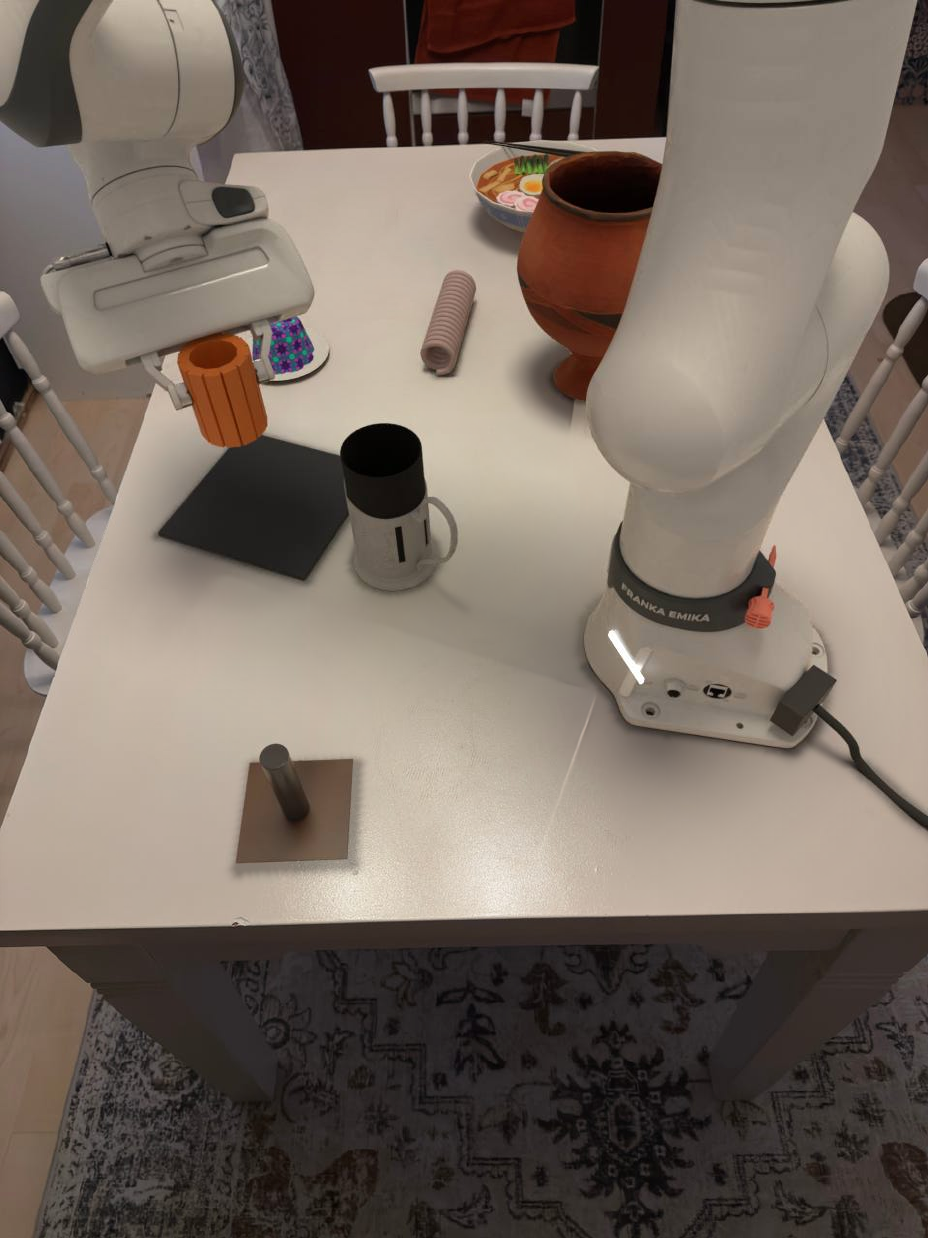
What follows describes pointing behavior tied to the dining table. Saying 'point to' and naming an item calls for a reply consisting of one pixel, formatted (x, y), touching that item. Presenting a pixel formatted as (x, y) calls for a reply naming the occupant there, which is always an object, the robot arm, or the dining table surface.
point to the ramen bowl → (517, 177)
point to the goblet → (586, 254)
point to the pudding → (292, 349)
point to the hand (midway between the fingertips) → (226, 393)
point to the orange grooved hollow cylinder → (223, 389)
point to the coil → (448, 322)
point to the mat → (265, 506)
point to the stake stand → (295, 809)
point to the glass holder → (390, 507)
